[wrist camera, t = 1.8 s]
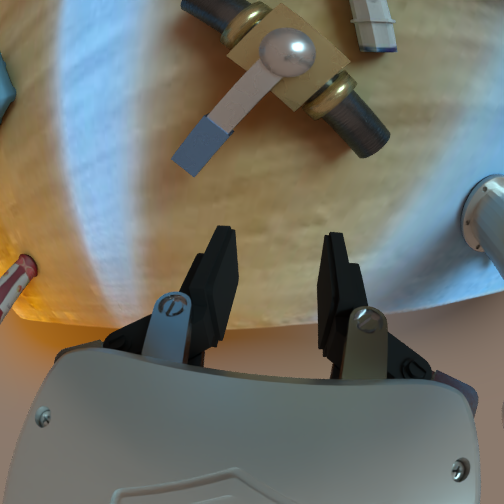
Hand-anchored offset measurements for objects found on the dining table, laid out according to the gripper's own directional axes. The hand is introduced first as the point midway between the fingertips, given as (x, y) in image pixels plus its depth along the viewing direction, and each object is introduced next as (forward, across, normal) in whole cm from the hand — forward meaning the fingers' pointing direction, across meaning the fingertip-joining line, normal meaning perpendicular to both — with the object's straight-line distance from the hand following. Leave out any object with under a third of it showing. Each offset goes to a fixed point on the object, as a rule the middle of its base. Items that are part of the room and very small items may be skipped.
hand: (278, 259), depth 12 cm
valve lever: (+13, +4, -6) cm, 15 cm away
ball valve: (+21, 0, -10) cm, 23 cm away
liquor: (+21, +59, +23) cm, 67 cm away
